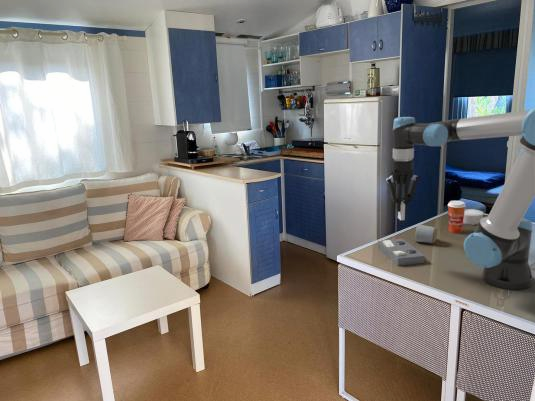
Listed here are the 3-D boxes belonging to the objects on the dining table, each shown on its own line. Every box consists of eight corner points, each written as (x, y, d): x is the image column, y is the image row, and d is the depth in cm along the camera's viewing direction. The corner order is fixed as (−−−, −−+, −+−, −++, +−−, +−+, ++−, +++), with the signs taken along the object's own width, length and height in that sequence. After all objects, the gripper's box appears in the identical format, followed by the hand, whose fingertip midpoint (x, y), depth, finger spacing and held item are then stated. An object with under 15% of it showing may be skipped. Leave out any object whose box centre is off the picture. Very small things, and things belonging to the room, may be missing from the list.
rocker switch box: (424, 262, 163) (424, 255, 162) (397, 265, 162) (397, 258, 161) (401, 244, 182) (402, 238, 181) (378, 247, 181) (378, 240, 180)
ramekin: (466, 217, 212) (467, 207, 211) (487, 222, 203) (488, 212, 202) (453, 222, 207) (453, 211, 206) (474, 227, 198) (474, 216, 196)
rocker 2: (405, 255, 164) (405, 252, 164) (397, 255, 163) (397, 253, 163) (400, 252, 169) (399, 250, 169) (392, 253, 168) (392, 251, 168)
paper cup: (445, 232, 193) (446, 204, 189) (447, 227, 199) (449, 199, 196) (463, 234, 189) (465, 205, 185) (465, 229, 195) (467, 201, 191)
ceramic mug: (434, 246, 178) (435, 229, 176) (414, 243, 182) (415, 227, 181) (438, 238, 187) (438, 222, 185) (419, 236, 191) (419, 220, 189)
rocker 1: (394, 248, 174) (394, 246, 173) (387, 249, 173) (387, 246, 173) (389, 241, 178) (390, 239, 178) (382, 242, 178) (382, 240, 177)
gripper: (414, 156, 158) (412, 214, 165) (382, 159, 157) (381, 217, 163) (424, 159, 151) (421, 220, 157) (390, 162, 150) (389, 223, 156)
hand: (401, 219), depth 160 cm, fingers closed
